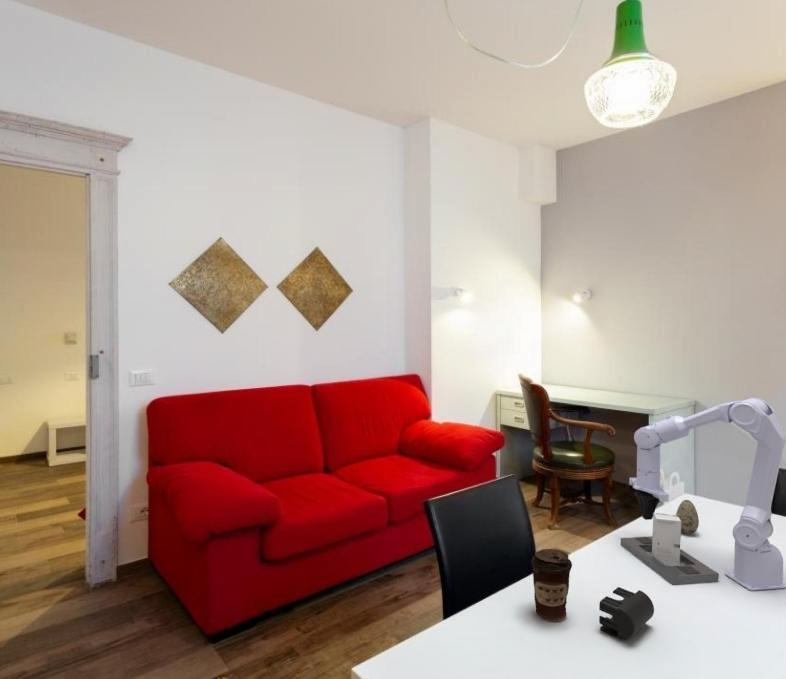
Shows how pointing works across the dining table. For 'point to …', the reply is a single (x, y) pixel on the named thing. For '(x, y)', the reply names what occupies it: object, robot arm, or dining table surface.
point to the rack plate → (673, 574)
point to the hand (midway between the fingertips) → (647, 518)
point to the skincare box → (666, 539)
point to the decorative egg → (688, 517)
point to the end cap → (625, 613)
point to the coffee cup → (551, 583)
